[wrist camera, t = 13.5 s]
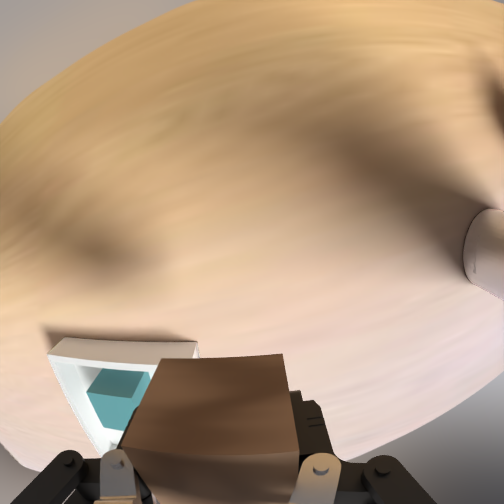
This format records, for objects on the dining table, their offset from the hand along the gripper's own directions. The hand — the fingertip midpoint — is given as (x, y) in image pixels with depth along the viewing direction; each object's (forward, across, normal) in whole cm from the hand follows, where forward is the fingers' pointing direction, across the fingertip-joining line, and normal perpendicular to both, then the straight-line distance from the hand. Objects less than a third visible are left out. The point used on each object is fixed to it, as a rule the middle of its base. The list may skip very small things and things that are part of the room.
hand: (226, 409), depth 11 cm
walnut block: (+1, 0, 0) cm, 1 cm away
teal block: (+13, +12, +10) cm, 20 cm away
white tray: (+14, +12, +14) cm, 23 cm away
